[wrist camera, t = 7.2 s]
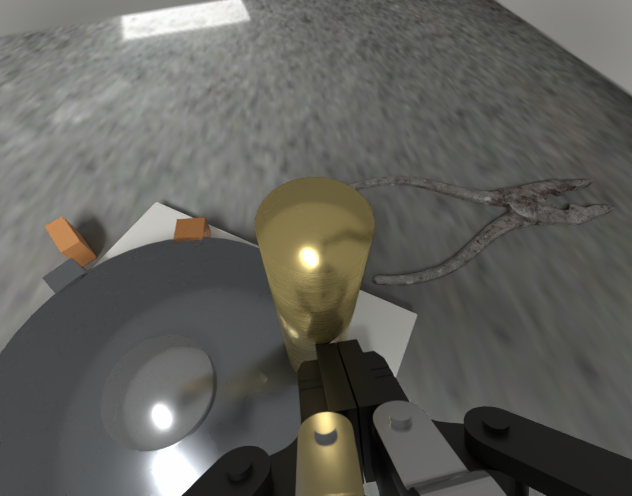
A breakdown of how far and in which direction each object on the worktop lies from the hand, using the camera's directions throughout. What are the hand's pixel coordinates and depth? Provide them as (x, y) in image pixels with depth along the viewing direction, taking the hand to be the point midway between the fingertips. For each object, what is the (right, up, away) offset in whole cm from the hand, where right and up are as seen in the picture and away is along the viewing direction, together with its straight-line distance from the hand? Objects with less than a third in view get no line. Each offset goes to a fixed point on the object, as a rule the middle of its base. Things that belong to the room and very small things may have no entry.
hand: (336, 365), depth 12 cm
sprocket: (-8, -4, +5) cm, 10 cm away
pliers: (+11, +7, +15) cm, 20 cm away
